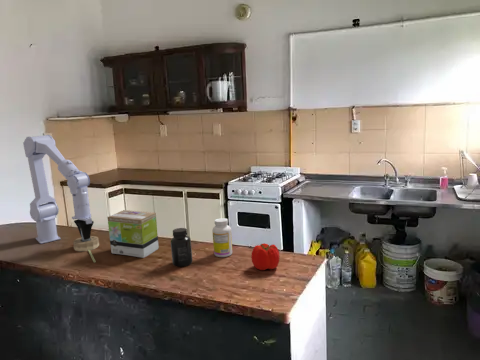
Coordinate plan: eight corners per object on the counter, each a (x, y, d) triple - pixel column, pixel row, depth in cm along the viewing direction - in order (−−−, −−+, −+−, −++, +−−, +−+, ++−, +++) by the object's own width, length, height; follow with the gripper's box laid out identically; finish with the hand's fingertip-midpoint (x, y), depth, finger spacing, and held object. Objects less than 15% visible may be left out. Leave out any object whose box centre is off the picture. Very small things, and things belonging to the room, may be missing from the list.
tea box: (110, 254, 151) (106, 216, 149) (127, 245, 161) (123, 209, 158) (144, 258, 146) (140, 218, 143) (159, 248, 155) (156, 211, 152)
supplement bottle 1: (195, 260, 141) (193, 227, 139) (187, 268, 135) (184, 233, 133) (178, 258, 144) (175, 226, 142) (168, 266, 137) (165, 232, 135)
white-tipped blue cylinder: (89, 241, 163) (87, 225, 161) (91, 243, 160) (89, 226, 159) (81, 243, 161) (79, 226, 159) (84, 245, 158) (81, 228, 157)
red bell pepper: (247, 267, 133) (245, 245, 132) (267, 260, 139) (266, 239, 137) (265, 276, 126) (264, 253, 125) (286, 268, 131) (286, 246, 130)
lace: (88, 251, 156) (87, 250, 156) (89, 250, 157) (89, 249, 156) (93, 262, 144) (93, 261, 144) (95, 262, 144) (95, 261, 144)
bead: (71, 247, 162) (70, 239, 161) (94, 241, 167) (93, 234, 166) (78, 253, 155) (77, 245, 154) (102, 247, 160) (101, 239, 159)
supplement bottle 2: (221, 249, 151) (219, 216, 148) (236, 252, 147) (234, 218, 145) (210, 255, 145) (207, 221, 143) (225, 259, 142) (223, 223, 139)
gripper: (65, 203, 161) (69, 236, 163) (76, 209, 150) (81, 244, 152) (83, 199, 165) (87, 232, 168) (95, 205, 154) (99, 240, 156)
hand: (85, 237), depth 160 cm, fingers closed on white-tipped blue cylinder, 3 cm apart
